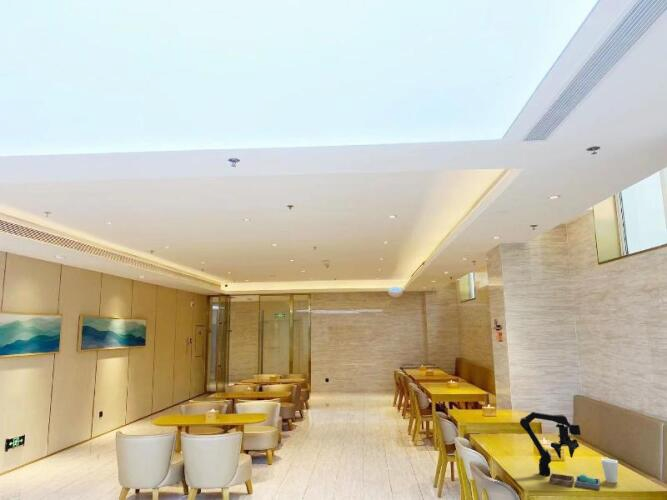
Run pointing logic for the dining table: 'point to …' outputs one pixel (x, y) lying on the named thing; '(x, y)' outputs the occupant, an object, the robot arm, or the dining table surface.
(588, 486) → the charcoal tray
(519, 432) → the dining table surface
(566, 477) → the walnut tray
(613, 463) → the foam cup
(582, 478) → the ball
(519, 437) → the dining table surface
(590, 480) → the teal ball
